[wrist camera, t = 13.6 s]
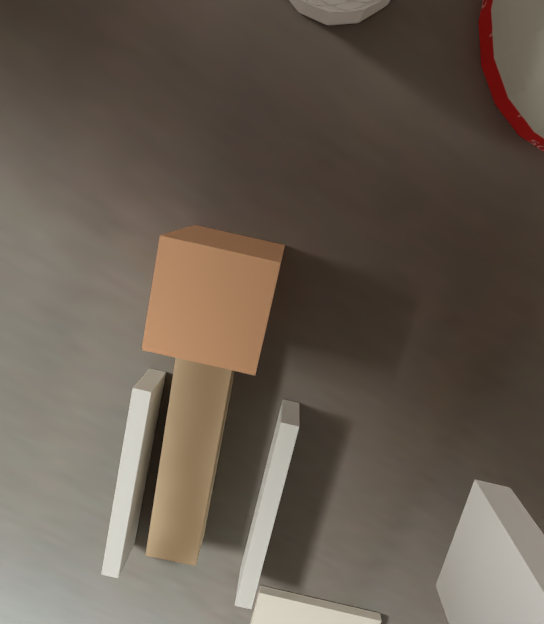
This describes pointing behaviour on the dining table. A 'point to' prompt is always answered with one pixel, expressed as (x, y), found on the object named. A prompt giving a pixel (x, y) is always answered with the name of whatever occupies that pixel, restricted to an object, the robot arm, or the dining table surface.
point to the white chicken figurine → (515, 62)
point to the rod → (188, 460)
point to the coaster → (305, 610)
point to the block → (212, 297)
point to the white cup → (338, 10)
